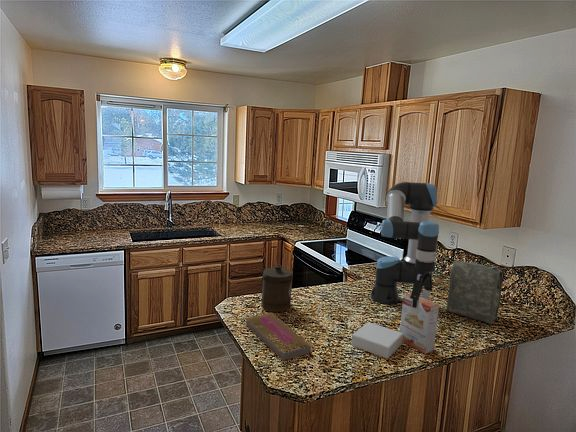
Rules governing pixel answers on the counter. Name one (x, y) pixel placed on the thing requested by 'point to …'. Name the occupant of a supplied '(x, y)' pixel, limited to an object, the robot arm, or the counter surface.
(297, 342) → the brown and pink box
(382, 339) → the marble slab
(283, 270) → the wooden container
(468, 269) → the bag
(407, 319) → the cracker box
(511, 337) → the counter surface
